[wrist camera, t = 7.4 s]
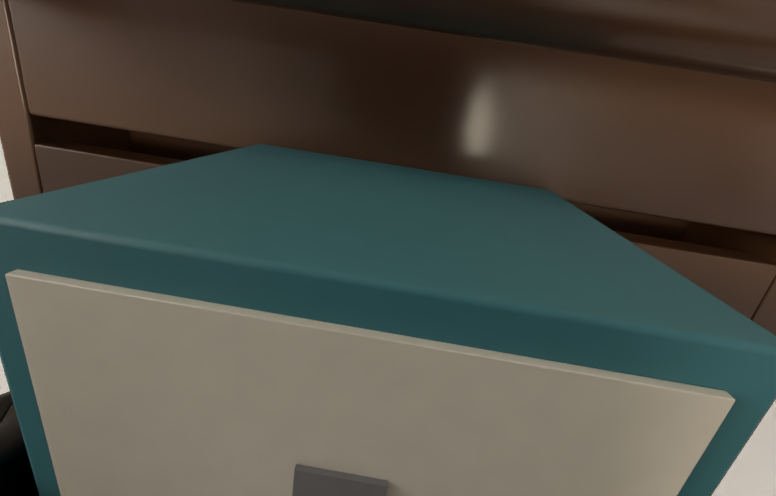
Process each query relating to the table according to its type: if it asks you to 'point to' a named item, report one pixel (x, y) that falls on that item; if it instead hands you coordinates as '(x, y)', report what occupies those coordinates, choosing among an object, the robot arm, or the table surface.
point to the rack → (429, 104)
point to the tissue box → (360, 339)
